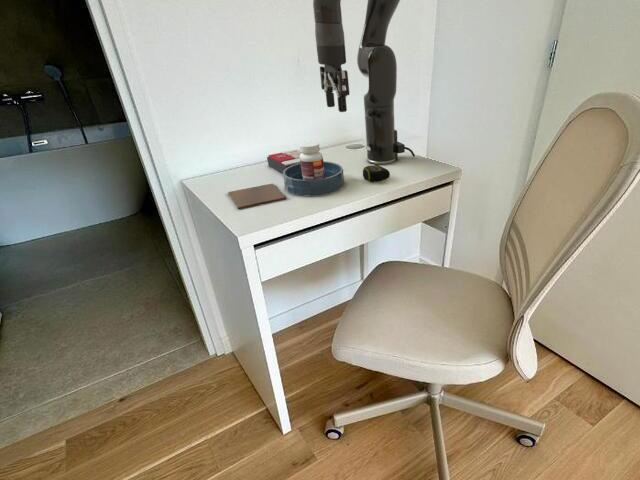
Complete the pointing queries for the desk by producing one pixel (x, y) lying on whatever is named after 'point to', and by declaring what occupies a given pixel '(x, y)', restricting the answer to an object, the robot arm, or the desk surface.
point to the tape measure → (375, 173)
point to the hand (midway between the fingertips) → (336, 109)
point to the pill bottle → (311, 161)
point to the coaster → (256, 196)
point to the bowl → (313, 187)
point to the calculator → (284, 160)
